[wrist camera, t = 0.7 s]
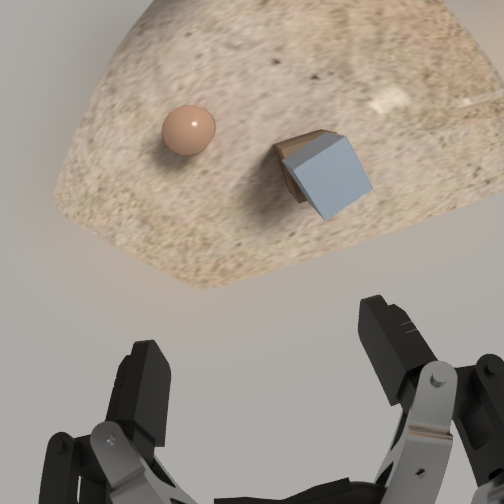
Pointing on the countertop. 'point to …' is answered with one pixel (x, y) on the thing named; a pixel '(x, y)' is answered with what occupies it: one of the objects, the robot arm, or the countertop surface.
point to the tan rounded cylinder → (188, 129)
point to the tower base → (287, 149)
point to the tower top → (328, 173)
